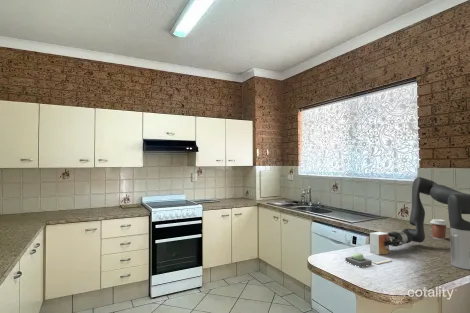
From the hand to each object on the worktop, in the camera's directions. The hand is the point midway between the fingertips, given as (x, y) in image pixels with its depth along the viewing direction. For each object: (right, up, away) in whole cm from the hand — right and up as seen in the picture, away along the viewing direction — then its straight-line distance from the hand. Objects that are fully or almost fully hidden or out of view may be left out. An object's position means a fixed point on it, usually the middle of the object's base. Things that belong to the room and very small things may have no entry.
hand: (377, 241), depth 144 cm
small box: (+1, -6, 0) cm, 6 cm away
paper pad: (-7, -6, -10) cm, 13 cm away
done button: (-17, -4, -16) cm, 24 cm away
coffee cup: (+57, -8, +32) cm, 66 cm away
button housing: (-17, -5, -16) cm, 24 cm away
